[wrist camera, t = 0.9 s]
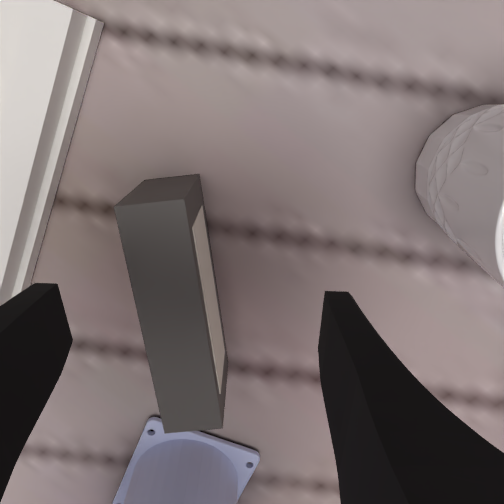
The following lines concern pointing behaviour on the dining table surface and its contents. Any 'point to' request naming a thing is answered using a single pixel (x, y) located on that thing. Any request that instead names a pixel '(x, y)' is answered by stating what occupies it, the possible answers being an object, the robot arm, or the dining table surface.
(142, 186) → the grey rectangular block
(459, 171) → the white cup
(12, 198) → the ledge
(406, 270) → the dining table surface
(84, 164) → the dining table surface
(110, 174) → the dining table surface
